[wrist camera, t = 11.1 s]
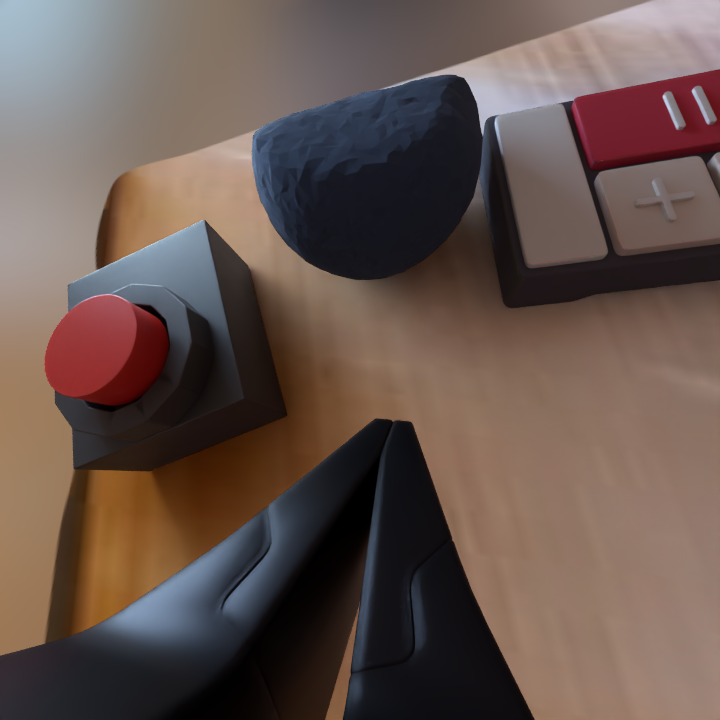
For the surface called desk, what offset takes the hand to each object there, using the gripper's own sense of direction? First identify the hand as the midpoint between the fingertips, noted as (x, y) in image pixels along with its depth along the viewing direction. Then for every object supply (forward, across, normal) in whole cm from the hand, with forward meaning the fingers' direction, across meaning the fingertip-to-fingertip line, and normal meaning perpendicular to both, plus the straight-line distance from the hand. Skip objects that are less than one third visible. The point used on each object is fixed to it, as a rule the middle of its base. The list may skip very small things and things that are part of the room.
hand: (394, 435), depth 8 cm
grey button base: (+12, +16, +6) cm, 21 cm away
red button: (+6, +15, +2) cm, 16 cm away
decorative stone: (+19, +4, -1) cm, 20 cm away
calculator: (+20, -10, -2) cm, 23 cm away
